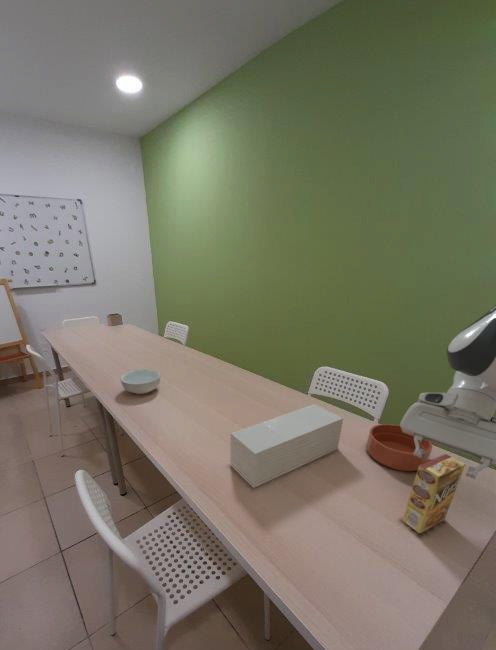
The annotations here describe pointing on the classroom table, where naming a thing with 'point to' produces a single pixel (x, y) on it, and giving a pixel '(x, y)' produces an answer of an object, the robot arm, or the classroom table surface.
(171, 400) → the classroom table surface
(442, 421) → the robot arm
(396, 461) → the pot
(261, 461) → the pale grey rectangular box
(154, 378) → the cereal bowl
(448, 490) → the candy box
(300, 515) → the classroom table surface
